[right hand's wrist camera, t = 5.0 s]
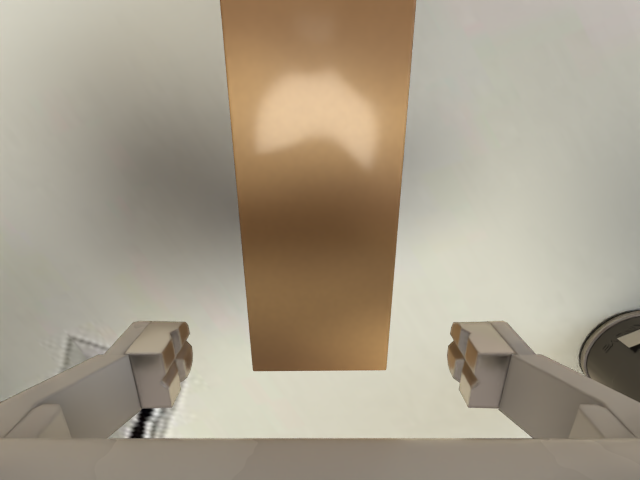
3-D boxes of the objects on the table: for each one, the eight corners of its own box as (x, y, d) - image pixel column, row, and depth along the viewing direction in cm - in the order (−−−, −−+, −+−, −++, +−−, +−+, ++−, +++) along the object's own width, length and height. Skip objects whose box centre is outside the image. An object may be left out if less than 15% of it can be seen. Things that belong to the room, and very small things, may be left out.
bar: (361, 276, 24) (386, 370, 15) (276, 277, 23) (252, 371, 15) (381, -194, 15) (465, -589, 7) (251, -195, 15) (166, -592, 7)
